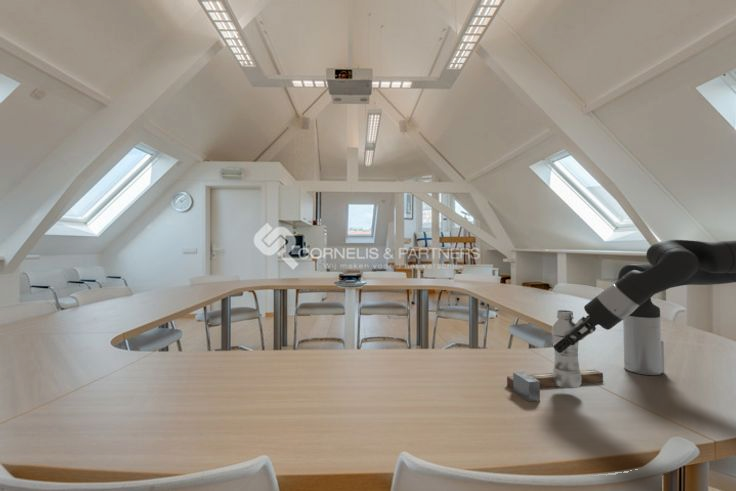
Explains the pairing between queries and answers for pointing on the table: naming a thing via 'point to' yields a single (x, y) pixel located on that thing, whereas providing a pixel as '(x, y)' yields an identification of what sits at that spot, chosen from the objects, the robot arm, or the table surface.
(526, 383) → the metal end stop
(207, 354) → the table surface
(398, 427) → the table surface
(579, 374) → the plastic bottle
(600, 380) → the walnut rail
